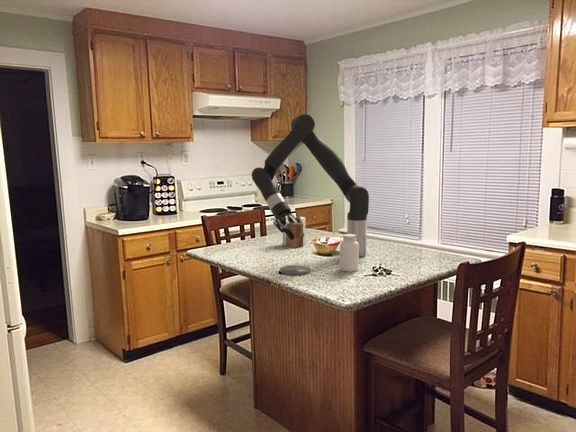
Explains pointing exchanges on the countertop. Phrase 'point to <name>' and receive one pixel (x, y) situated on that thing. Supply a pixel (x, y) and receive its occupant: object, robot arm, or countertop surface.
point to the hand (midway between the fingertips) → (297, 237)
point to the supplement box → (303, 232)
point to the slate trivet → (295, 270)
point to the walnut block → (295, 235)
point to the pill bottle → (349, 253)
